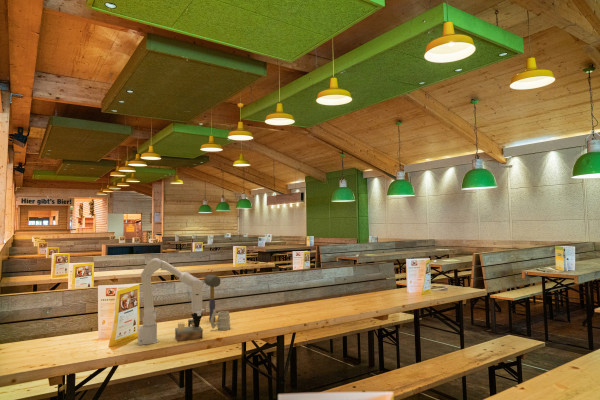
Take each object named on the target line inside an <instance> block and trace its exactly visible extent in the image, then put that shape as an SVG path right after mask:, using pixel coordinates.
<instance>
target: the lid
mask: <svg viewBox="0 0 600 400" xmlns="http://www.w3.org/2000/svg"><path fill="white" fill-rule="evenodd" d="M175 331H176V332H177V334H184V333H192V332H200V331H203V328H202V327H201V326H200V325H199V327H193V326H192V325H190V327H188V326H186V325H185V322H184V321H182V322H179V321H178V322H177V327H175V328H174V332H175Z"/></svg>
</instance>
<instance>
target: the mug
mask: <svg viewBox="0 0 600 400" xmlns="http://www.w3.org/2000/svg"><path fill="white" fill-rule="evenodd" d="M217 316H218V317H217ZM216 317H217V322H215V321H214V318H215V319H216ZM230 318H231V316H230V311H227V310H226V311H225V310H223V311H222V310H221V311H218V313H217V311H216V309H215V310H213V314H212V317H211V320H210V321H211V322H210V321H209V322H210V326H211V328H212V329H215V328H216V327H217V330H218V331H228V330H230V329H231V324H230V323H231V322H230V320H231V319H230Z"/></svg>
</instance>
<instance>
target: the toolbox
mask: <svg viewBox="0 0 600 400" xmlns="http://www.w3.org/2000/svg"><path fill="white" fill-rule="evenodd" d="M190 322H194V321H193V318H191V319H188V321H187V325H188V326H187V327H190V326H191V324H190ZM174 335H175V336H174V337H175V339H176V341H177V342H178V343H180V342H186V341H187V342H188V341H195V340H202V338H203V335H204V334H203V331H200V332H192V333H184V334H177V332H176V331H175V330H174Z"/></svg>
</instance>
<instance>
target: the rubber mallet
mask: <svg viewBox="0 0 600 400" xmlns="http://www.w3.org/2000/svg"><path fill="white" fill-rule="evenodd" d="M204 284H205V285H206V286H208V287H209V290H210V291H209V292H210V294H209V297H210V298H209V302H208V303H209V305H208V308H209V318H208V320H209V323H211V321H210V320H211V317H212V314H213V310H215V311H216V299H215V288H217V287H218V286H220V285H221V278H220V277H219V276H217V275H216V274H215V275H214V274H207V275H206V276H205V277H204ZM215 321H216V317H215V318H214V322H215Z"/></svg>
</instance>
